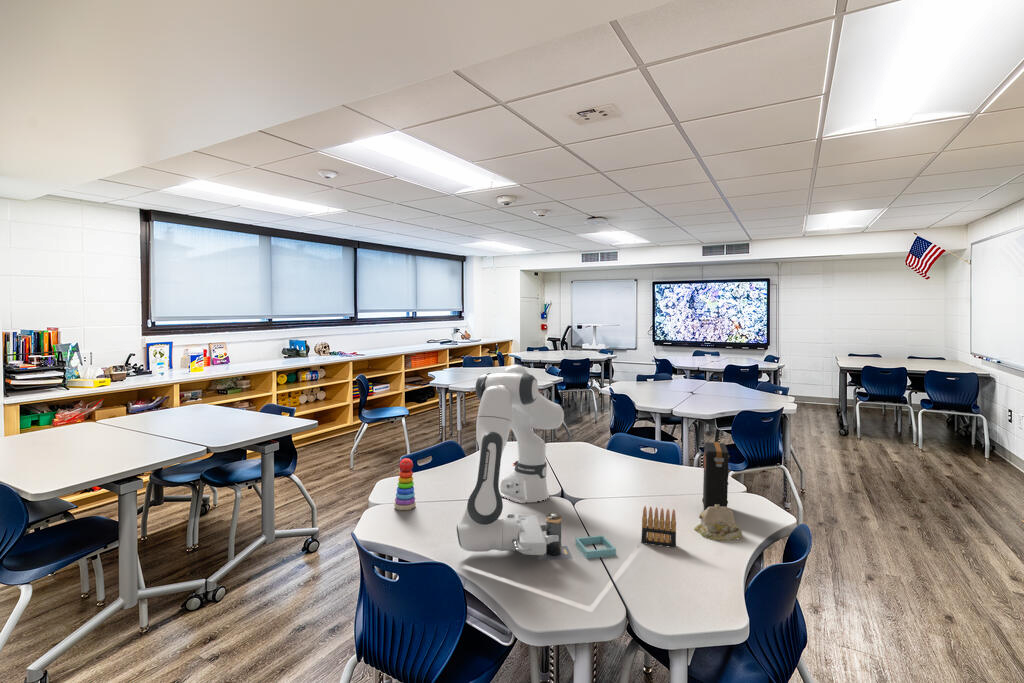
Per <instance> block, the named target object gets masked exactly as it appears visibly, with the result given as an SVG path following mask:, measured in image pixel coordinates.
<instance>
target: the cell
mask: <svg viewBox="0 0 1024 683" xmlns="http://www.w3.org/2000/svg"><path fill="white" fill-rule="evenodd" d="M562 521H563V520H562V516H561V515H560V514H557V513H550V514H547V515H546V516H545V524H546V531H545V535H547V536H549V535H552V534H558V536H559V541H557V542H551V543H549V544H546V554H548V555H550V556H559V555H560V554H561V546H562Z"/></svg>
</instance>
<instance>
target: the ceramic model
mask: <svg viewBox="0 0 1024 683" xmlns="http://www.w3.org/2000/svg"><path fill="white" fill-rule="evenodd" d="M698 518H699V519H700V524H697V525H696V526H695V527H694V528H693V530H694V531H696V532H697V533H698V534H699V533H700V534H701V535H702V536H701V535H700V534H699V535H700V536H701V537H703V538H705V537H706V538H705V539H708V538H709V540H712V539H713V541H731V540H730V539H736V540H738V539H737V538H740V537H742V535H743V530H742V529H741V528H740V527H739V526H737V525H736V520H735V514H734V513H733V511H732V510H731V509H729V508H728V506H727V507H720V505H719V504H717V505H716V504H715V507H708V508H707V509H706V510H704V509H703V511H702V512H700V513H699V515H698ZM740 539H741V538H740Z"/></svg>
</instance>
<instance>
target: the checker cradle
mask: <svg viewBox="0 0 1024 683" xmlns="http://www.w3.org/2000/svg"><path fill="white" fill-rule="evenodd" d="M537 557H538V560H539V561H542V560H545V561H546V560H568V559H569V560H570V559H571V560H572V559H573V556H572V554H571V552H570V549H569V548H568V546H567V545H561V554H560V555H559V556H550V555H548V554H546V553H545V554H543V555H537Z"/></svg>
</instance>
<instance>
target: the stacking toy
mask: <svg viewBox="0 0 1024 683" xmlns="http://www.w3.org/2000/svg"><path fill="white" fill-rule="evenodd" d="M413 467H414V463H413V460H412V459H410V458H407V457H405V458H402V459H401V461H400V462H399V469H400V471H399V473H398V476H399V477H398V480H397V481H398V482H397V488H396V493H395V498H394V502H395V503H394V505H393V506H394V508H395V509H396V510H398V511H410V510H413V509H414V508H415V507H416V505H417V504H416V497H415V495H416V493H415V491H414V490H415V487H414V486H415V482H414V481H413V480H414V476H413V475H414V473H413V471H412V469H413ZM412 508H413V509H412Z"/></svg>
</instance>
